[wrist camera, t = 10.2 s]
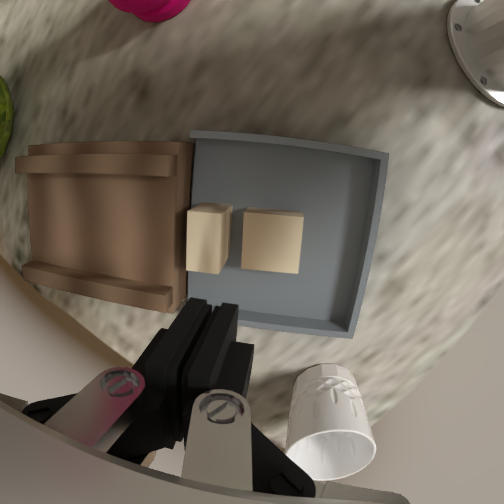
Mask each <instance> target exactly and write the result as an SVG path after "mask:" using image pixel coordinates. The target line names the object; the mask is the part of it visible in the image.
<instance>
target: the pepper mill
mask: <svg viewBox="0 0 504 504" xmlns="http://www.w3.org/2000/svg"><path fill="white" fill-rule="evenodd" d="M108 1H109V2H110V3H111V4H112V5H114V6H115V7H116V8H117V9H119V10H121V11H124V12H129V13H133V14H134V15H136V16H137V17H138V18H140V19H141V20H143V21H146V22H160V21H164V20H167V19H170V18H172V17H174V16H176V15H177V14H178V13H180V12H181V11H182V10H183V9H184V8H185V7H186V6H187V5H188V3H189V2H190V0H108Z"/></svg>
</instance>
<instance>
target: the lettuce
mask: <svg viewBox="0 0 504 504" xmlns="http://www.w3.org/2000/svg"><path fill="white" fill-rule="evenodd" d="M13 114H14V106H13V103H12V99H11V96H10V92H9V89H8V87H7V85H6V82H5V80H4V79H3V78H2V77H1V76H0V158H1V157H2V155H3V154H4V151H5V149H6V146H7V143H8V140H9V137H10V135H11V132H12V128H13Z"/></svg>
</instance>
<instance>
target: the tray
mask: <svg viewBox="0 0 504 504" xmlns="http://www.w3.org/2000/svg"><path fill="white" fill-rule="evenodd" d="M189 138H195V139H196V147H195V159H194V172H193V187H192V203H191V209H192V208H194V207H196V206H198V205H199V204H201V203H203V202H209V203H221V204H233V208H232V223H231V239H230V256H229V258H228V259H227V261H226V263H225V264H224V266H223V268H222V269H221V271H220V273H219V274H212V273H204V272H196V271H188V300H189V298H190V297H193V298H199V299H205V300H207V304H211V305H212V312H213V310H214V308H215V306H216V305H217V306H221V304H222V302H224V303H231V304H237V305H239V312H238V323H237V325H239V326H246V327H253V328H260V329H267V330H275V331H283V332H291V333H300V334H309V335H318V336H328V337H338V338H350V339H353V336H354V332H355V328H356V324H357V321H358V317H359V313H360V309H361V305H362V301H363V297H364V293H365V289H366V284H367V280H368V275H369V271H370V266H371V262H372V257H373V252H374V247H375V242H376V237H377V231H378V226H379V220H380V214H381V208H382V202H383V195H384V189H385V182H386V174H387V167H388V159H389V153H384V152H379V151H374V150H369V149H363V148H357V147H352V146H346V145H340V144H333V143H327V142H320V141H312V140H305V139H297V138H289V137H280V136H270V135H260V134H248V133H236V132H220V131H201V130H190V136H189ZM248 207H253V208H266V209H278V210H290V211H301V212H303V216H304V221H303V232H302V242H301V252H300V261H299V270H298V274H294V273H283V272H272V271H261V270H250V269H241V260H242V240H243V220H244V212H245V210H246V209H247V208H248Z"/></svg>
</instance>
